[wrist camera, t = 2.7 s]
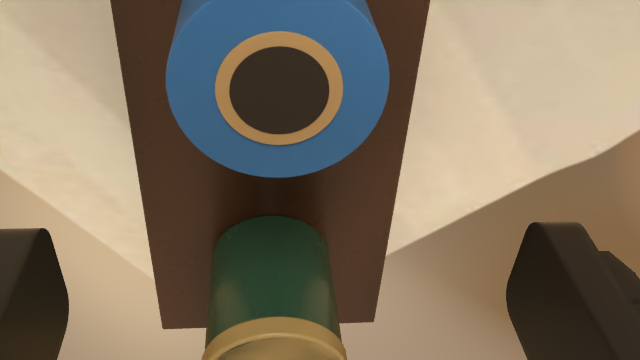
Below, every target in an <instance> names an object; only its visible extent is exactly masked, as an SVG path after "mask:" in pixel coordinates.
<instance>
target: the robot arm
mask: <svg viewBox="0 0 640 360" xmlns="http://www.w3.org/2000/svg"><path fill="white" fill-rule="evenodd" d="M506 301H507V308H508V312H509V316H510V319H511V321H512V324H513V326H514V328H515V331H516V333H517V335H518V338H519V340H520V343H521V345H522V347H523V350H524V352H525V354H526V357H527V359H528V360H640V279H639V278H638V277H637V275H636V274H635V273H634V272H633V271H632V270H631V269H630V268H628V267H627V266H626V265H625V264H624V263H622V262H621V261H620V260H619V259H617V258H616V257H615V256H614V255H613V254H612V253H610V252H609V251H598V249H597V248H596V246H595V244H594V243H593V241H592V239H591V238H590V237H589V235H588V233H587V232H586V230H585V229H584V227H583V226H582V225H581V224H580V223H578V222H535V223H531V224H530V225H529V226H528V228H527V230H526V233H525V235H524V238H523V241H522V244H521V246H520V249H519V252H518V255H517V258H516V260H515V263H514V266H513V269H512V271H511V274H510V277H509V280H508V283H507V290H506ZM68 314H69V300H68V293H67V289H66V286H65V282H64V279H63V276H62V272H61V269H60V265H59V262H58V259H57V255H56V252H55V249H54V245H53V242H52V239H51V236H50V234H49V232H48V231H47V230H46V229H44V228H40V229H39V228H37V229H36V228H33V229H0V360H57V358H58V354H59V351H60V348H61V345H62V341H63V338H64V335H65V331H66V327H67V322H68Z"/></svg>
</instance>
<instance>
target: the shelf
mask: <svg viewBox="0 0 640 360" xmlns="http://www.w3.org/2000/svg"><path fill="white" fill-rule="evenodd" d="M110 2H111V8H112V14H113V21H114V27H115V33H116V39H117V46H118V52H119V58H120V64H121V71H122V77H123V83H124V90H125V96H126V102H127V108H128V115H129V121H130V127H131V134H132V140H133V146H134V152H135V159H136V165H137V171H138V177H139V184H140V190H141V196H142V203H143V209H144V215H145V221H146V228H147V234H148V240H149V247H150V253H151V259H152V265H153V272H154V278H155V284H156V290H157V296H158V303H159V309H160V316H161V321H162V328H163V329H182V328H207V315H208V302H209V288H210V275H211V261H212V253H213V249H214V247H215V244H216V243H217V241H218V239H219V238H220V237H221V236H222V235H223V234H224V233H225V232H226V231H227V230H228V229H230V228H231V227H233V226H234V225H236V224H238V223H240V222H242V221H245V220H247V219H251V218H254V217H260V216H270V215H275V216H286V217H291V218H295V219H298V220H300V221H303V222H305V223H307V224H309V225H310V226H312V227H313V228H315V229H316V230H317V231H318V232H319V233H320V234H321V235H322V237H323V238H324V240H325V241H326V243H327V246H328V250H329V256H330V263H331V270H332V277H333V284H334V291H335V298H336V305H337V312H338V319H339V323H361V322H374V318H375V312H376V307H377V301H378V295H379V290H380V284H381V278H382V272H383V267H384V260H385V255H386V250H387V244H388V238H389V233H390V227H391V221H392V215H393V210H394V204H395V198H396V193H397V187H398V181H399V175H400V170H401V164H402V158H403V153H404V147H405V141H406V135H407V130H408V124H409V118H410V113H411V107H412V101H413V95H414V90H415V84H416V78H417V73H418V67H419V61H420V55H421V50H422V44H423V38H424V33H425V27H426V21H427V15H428V10H429V4H430V0H366V3H367V5H368V8H369V10H370V13H371V15H372V18H373V21H374V23H375V26H376V28H377V31H378V33H379V36H380V39H381V41H382V44H383V46H384V49H385V51H386V55H387V60H388V64H389V77H390V78H389V91H388V96H387V100H386V104H385V107H384V109H383V112H382V115H381V117H380V118H379V120H378V122H377V124H376V126H375V127H374V129H373V130H372V132H371V133H370V134H369V136H368V137H367V138H366V139H365V140H364V141H363V143H362V144H361V145H360V146H359V147H358V148H356V149H355V150H354V151H353V152H352V153H351V154H349V155H348V156H346V157H345V158H343V159H342V160H340V161H339V162H337V163H335V164H333V165H331V166H329V167H327V168H324V169H322V170H319V171H317V172H313V173H309V174H306V175H301V176H295V177H286V178H267V177H259V176H252V175H248V174H244V173H241V172H237V171H235V170H232V169H230V168H227V167H225V166H223V165H221V164H219V163H217V162H215V161H214V160H212V159H211V158H209V157H208V156H206V155H205V154H204V153H203V152H201V151H200V150H199V149H198V148H197V147H196V146H195V145H194V144H193V143H192V142H191V141H190V140H189V139H188V138H187V137H186V135H185V134H184V132H183V131H182V130H181V128H180V127H179V125H178V123H177V121H176V119H175V117H174V115H173V113H172V110H171V107H170V105H169V102H168V96H167V91H166V68H167V61H168V57H169V52H170V48H171V44H172V40H173V36H174V32H175V28H176V23H177V19H178V15H179V11H180V7H181V3H182V0H110Z"/></svg>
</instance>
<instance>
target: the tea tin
mask: <svg viewBox="0 0 640 360" xmlns="http://www.w3.org/2000/svg"><path fill="white" fill-rule="evenodd" d="M202 360H347V356H346V351H345V348H344V346H343V344H342V341H341V335H340V326H339V319H338V312H337V305H336V298H335V291H334V284H333V277H332V270H331V263H330V256H329V250H328V246H327V243H326V241H325V240H324V238H323V237H322V235H321V234H320V233H319V232H318V231H317V230H316V229H315V228H313V227H312V226H310V225H309V224H307V223H305V222H303V221H300V220H298V219H295V218H291V217H286V216H275V215H270V216H260V217H254V218H251V219H247V220H245V221H242V222H240V223H238V224H236V225H234V226H233V227H231V228H230V229H228V230H227V231H226V232H225V233H224V234H223V235H222V236H221V237H220V238H219V239H218V241H217V243H216V244H215V247H214V249H213V253H212V261H211V275H210V288H209V302H208V315H207V329H206V343H205V351H204V354H203V356H202Z"/></svg>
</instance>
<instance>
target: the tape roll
mask: <svg viewBox="0 0 640 360" xmlns="http://www.w3.org/2000/svg"><path fill="white" fill-rule="evenodd" d="M389 78H390V77H389V64H388V60H387V55H386V51H385V49H384V46H383V44H382V41H381V39H380V36H379V33H378V31H377V28H376V26H375V23H374V21H373V18H372V15H371V13H370V10H369V8H368V5H367V3H366V0H182V3H181V7H180V11H179V15H178V19H177V23H176V28H175V32H174V36H173V40H172V44H171V48H170V52H169V57H168V61H167V68H166V91H167V96H168V102H169V105H170V107H171V110H172V113H173V115H174V117H175V119H176V121H177V123H178V125H179V127H180V128H181V130H182V131H183V132H184V134H185V135H186V137H187V138H188V139H189V140H190V141H191V142H192V143H193V144H194V145H195V146H196V147H197V148H198V149H199V150H200V151H201V152H203V153H204V154H205V155H206V156H208V157H209V158H211V159H212V160H214V161H215V162H217V163H219V164H221V165H223V166H225V167H227V168H230V169H232V170H235V171H237V172H241V173H244V174H248V175H252V176H259V177H267V178H286V177H295V176H301V175H306V174H309V173H313V172H317V171H319V170H322V169H324V168H327V167H329V166H331V165H333V164H335V163H337V162H339V161H340V160H342V159H343V158H345V157H346V156H348V155H349V154H351V153H352V152H353V151H354V150H355V149H356V148H358V147H359V146H360V145H361V144H362V143H363V141H364V140H365V139H366V138H367V137H368V136H369V134H370V133H371V132H372V130H373V129H374V127H375V126H376V124H377V122H378V120H379V118H380V117H381V115H382V112H383V109H384V107H385V104H386V100H387V96H388V91H389Z"/></svg>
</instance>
